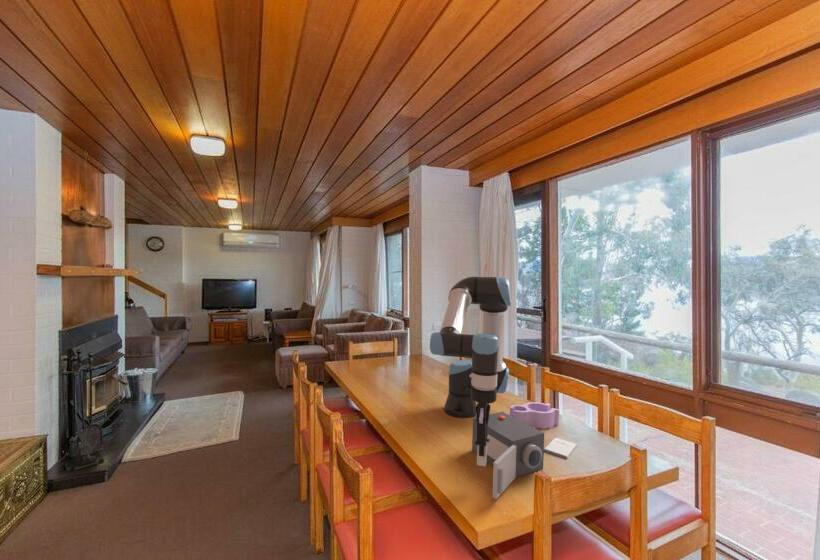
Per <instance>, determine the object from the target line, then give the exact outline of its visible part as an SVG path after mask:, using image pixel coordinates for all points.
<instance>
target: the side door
mask: <svg viewBox="0 0 820 560" xmlns="http://www.w3.org/2000/svg"><path fill="white" fill-rule="evenodd" d="M492 467H493V468H492V469H493V471H492V472H493V473H492V475H493V476H492V499H495V500H497V499H498V498H499V497H500V496H501V495H502V493H503V492H504V491H505V490H507V488H508V487H509V485H510V484H511V483H513V481H514V480H515V479H516V478H515V474H516V446H515V445H512V446H511V447H510V448H509V449H508V450H506V451H505V452H504V453H503V454H502V455H501V456H500V457H499V458H498V459H497V460H496V461H495V462H494V463H493V465H492Z"/></svg>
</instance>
